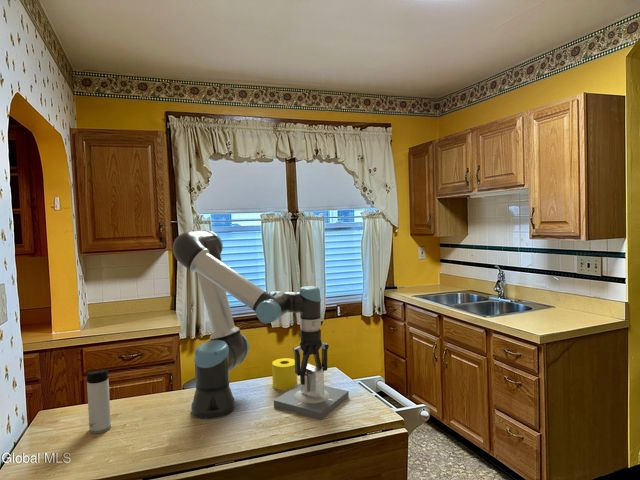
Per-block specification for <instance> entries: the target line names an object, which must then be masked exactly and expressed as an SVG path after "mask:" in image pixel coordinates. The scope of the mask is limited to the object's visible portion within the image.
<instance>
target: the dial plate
mask: <svg viewBox="0 0 640 480" xmlns="http://www.w3.org/2000/svg"><path fill="white" fill-rule="evenodd" d="M349 393H350V391H349V390H346V389H341V388H337V387H332V386H328V385H324V396H323V397H322V398H319V399H316V400H315V399H313V398H312V397H310V396H308V395H306V394H304V393H302V392H301V383H298V384H297V386H295V387H294V388H292V389H290V390H287V391H286V392H284V393H283V394H281V395H280V396H278V397H276V398H275V399H273V407H274V408H276V409H280V410H285V411H288V412H292V413H295V414H298V415H303V416H306V417H309V418H313V419H316V420H320V421H321V420H323V419H325V418H326V417H327V416H328V415H329V414H330V413H332V412H333V411H334V410H335V409H337V408H338V407H339V406H340V405H341V404H343V403H344V402H345V401H347V400H348V399H349V398H350V397H349Z"/></svg>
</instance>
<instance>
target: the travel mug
mask: <svg viewBox="0 0 640 480" xmlns="http://www.w3.org/2000/svg"><path fill="white" fill-rule="evenodd" d="M109 383H110V382H109V369H107V368H105V369H104V368H103V369H100V370H99V369H97V370H90V371H88V372H87V373H86V390H87V391H86V392H87V407H88V409H87V410H88V425H89V430H88V431H89V432H90V433H91V434H93V435H96V434H97V435H98V434H102V433H105V432H108V431H109V430H110V429H111V426H112V423H111V421H112V420H111V402H110V384H109Z"/></svg>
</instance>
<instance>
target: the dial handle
mask: <svg viewBox="0 0 640 480" xmlns="http://www.w3.org/2000/svg"><path fill="white" fill-rule="evenodd" d="M300 369H301V365H300ZM324 372H325V371H324ZM324 372H323V370H322V369H320V368H317V367H316V365H313V364H311V363H309V362H308V363H307V368H306V373H305V375H306V376H307V394H306V395H308V396H310V397H312V398H313V399H315V400H316V399H319V398H322V397H323V396H324V386H325V374H324ZM301 392H302V393H304V392H303V385H302V384H301ZM304 394H305V393H304Z"/></svg>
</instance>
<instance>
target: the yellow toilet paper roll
mask: <svg viewBox="0 0 640 480" xmlns="http://www.w3.org/2000/svg"><path fill="white" fill-rule="evenodd" d="M271 364H272V365H271V372H272V373H271V374H272V388H273V389H275V390H279V391H289V389H290V390H291V389H292V388H294V387H295V386H297V385H298V375H297V374H296V373H295V358H288V357H287V358H286V357H284V358H277V359H275V360H272V362H271Z"/></svg>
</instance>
